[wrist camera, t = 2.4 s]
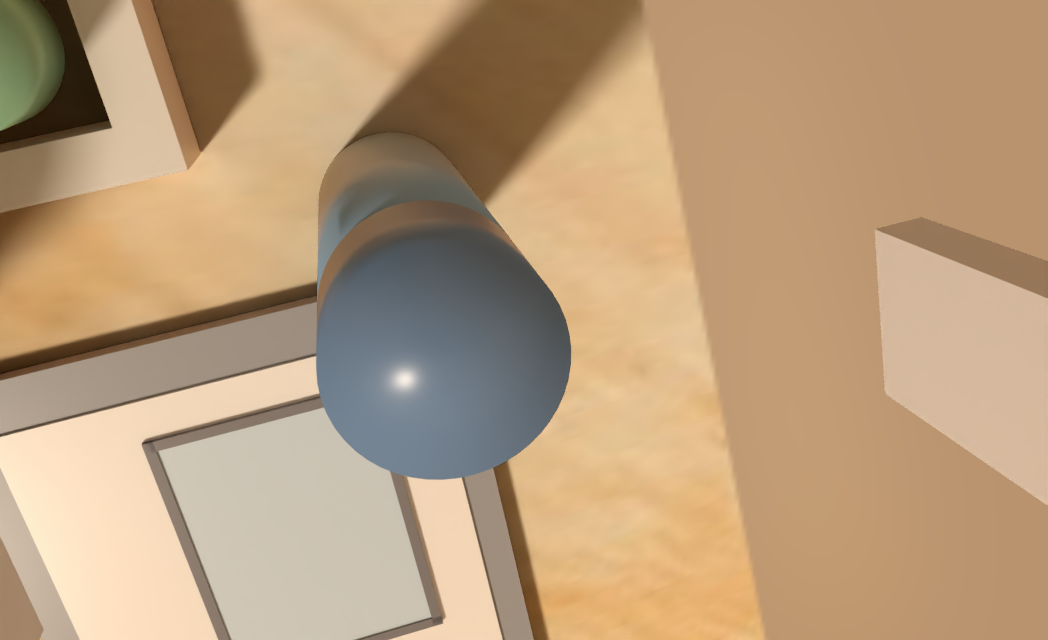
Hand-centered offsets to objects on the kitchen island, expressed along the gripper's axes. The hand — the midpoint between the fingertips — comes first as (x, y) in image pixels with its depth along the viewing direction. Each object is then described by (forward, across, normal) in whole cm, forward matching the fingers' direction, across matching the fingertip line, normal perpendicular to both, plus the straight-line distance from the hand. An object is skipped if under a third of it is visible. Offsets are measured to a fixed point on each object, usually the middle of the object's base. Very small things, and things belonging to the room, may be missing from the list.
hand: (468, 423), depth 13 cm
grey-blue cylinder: (+13, 0, +1) cm, 13 cm away
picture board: (+14, -6, -13) cm, 20 cm away
